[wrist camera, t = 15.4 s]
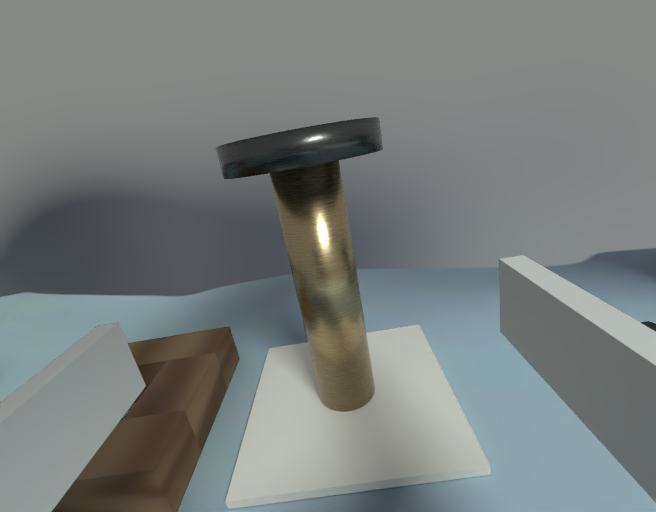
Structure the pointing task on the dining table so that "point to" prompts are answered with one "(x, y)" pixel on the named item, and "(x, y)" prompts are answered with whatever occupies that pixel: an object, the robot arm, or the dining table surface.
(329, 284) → the mushroom top post
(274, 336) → the dining table surface
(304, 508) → the dining table surface
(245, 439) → the pad
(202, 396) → the eye block
